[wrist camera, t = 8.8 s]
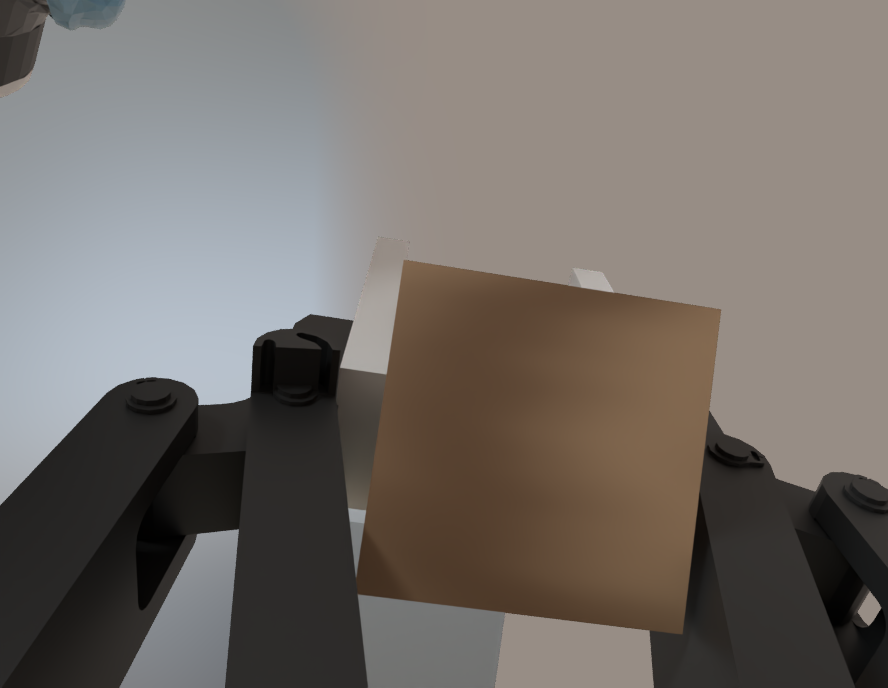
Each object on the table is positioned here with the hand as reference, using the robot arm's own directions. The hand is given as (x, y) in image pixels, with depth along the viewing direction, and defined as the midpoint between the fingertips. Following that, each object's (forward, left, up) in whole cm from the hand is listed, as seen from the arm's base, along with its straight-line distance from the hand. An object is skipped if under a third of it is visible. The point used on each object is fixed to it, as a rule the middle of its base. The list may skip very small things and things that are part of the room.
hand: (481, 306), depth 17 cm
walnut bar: (0, +3, -5) cm, 6 cm away
